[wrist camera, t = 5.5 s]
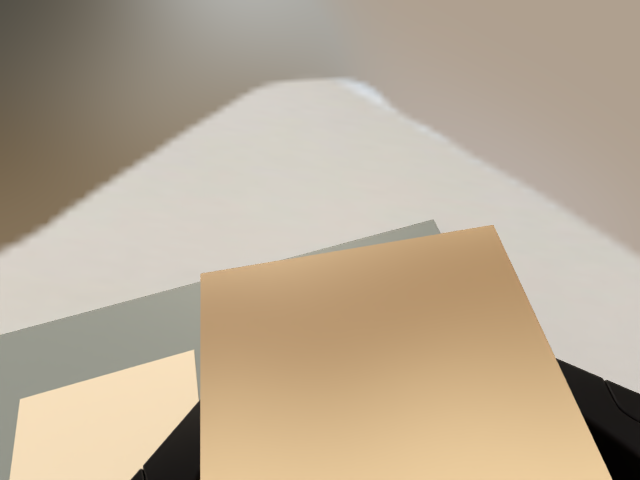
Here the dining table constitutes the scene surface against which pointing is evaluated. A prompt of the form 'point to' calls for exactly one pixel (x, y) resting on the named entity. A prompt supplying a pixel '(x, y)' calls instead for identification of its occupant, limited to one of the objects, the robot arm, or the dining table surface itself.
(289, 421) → the maple block
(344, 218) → the dining table surface
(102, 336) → the slate board
